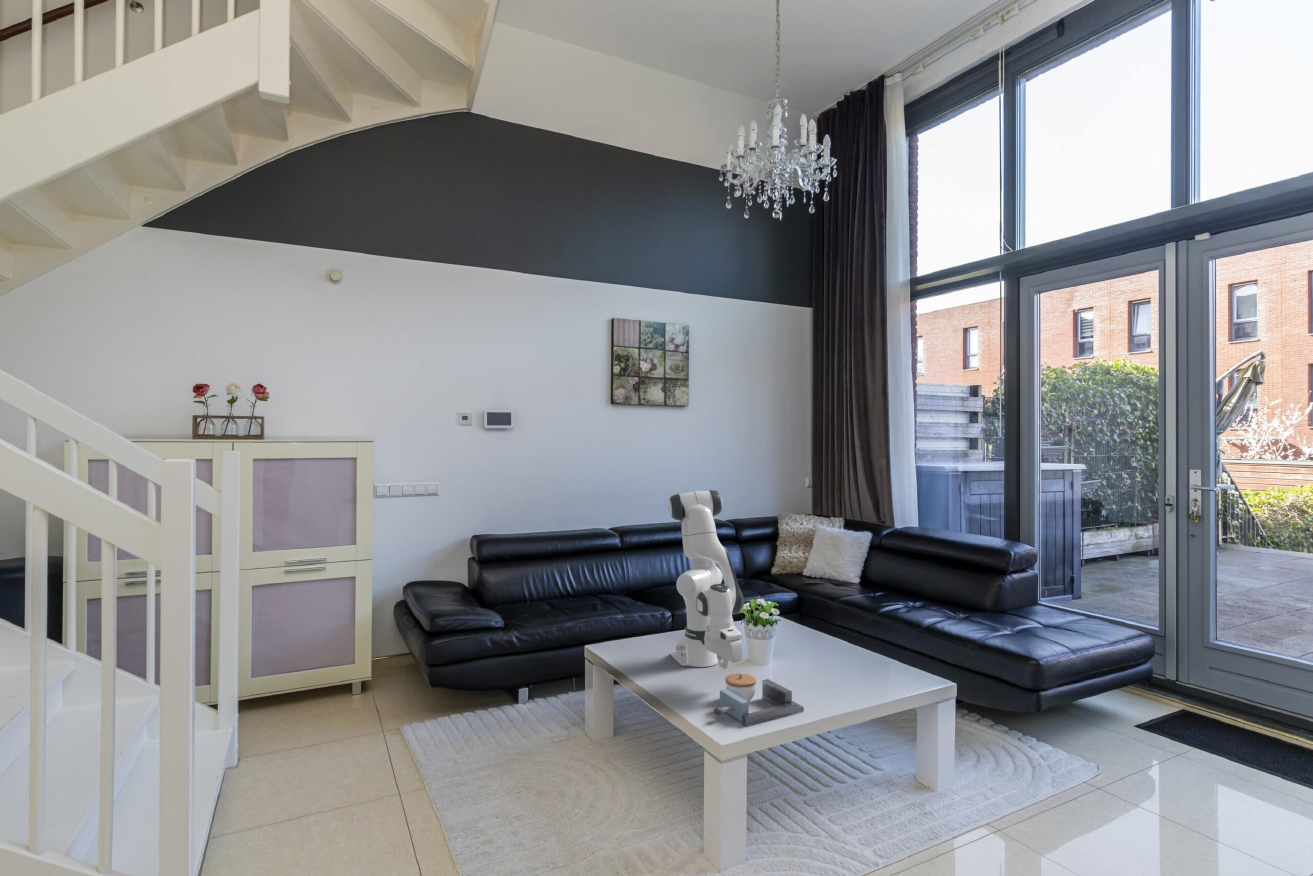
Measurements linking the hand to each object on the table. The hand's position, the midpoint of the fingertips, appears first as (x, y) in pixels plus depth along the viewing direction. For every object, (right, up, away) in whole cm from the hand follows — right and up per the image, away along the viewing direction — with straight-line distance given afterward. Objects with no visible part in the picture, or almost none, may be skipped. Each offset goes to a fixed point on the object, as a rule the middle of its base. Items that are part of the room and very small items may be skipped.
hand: (723, 667), depth 241 cm
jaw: (-2, -8, -23) cm, 24 cm away
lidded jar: (+5, -9, -9) cm, 14 cm away
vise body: (+11, -8, -18) cm, 22 cm away
